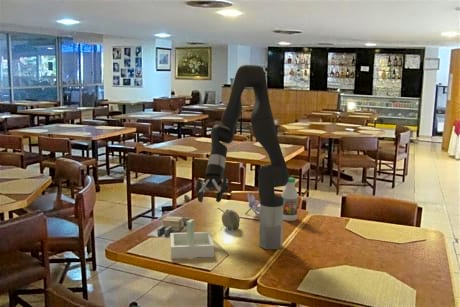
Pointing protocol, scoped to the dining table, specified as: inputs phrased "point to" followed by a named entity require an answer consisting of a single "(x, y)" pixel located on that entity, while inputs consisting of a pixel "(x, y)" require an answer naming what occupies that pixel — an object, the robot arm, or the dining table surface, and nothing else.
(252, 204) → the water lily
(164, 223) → the offcut top
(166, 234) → the rack
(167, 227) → the offcut bottom
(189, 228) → the pale green block
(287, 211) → the milk bottle
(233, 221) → the grey rounded lump
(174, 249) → the tray
